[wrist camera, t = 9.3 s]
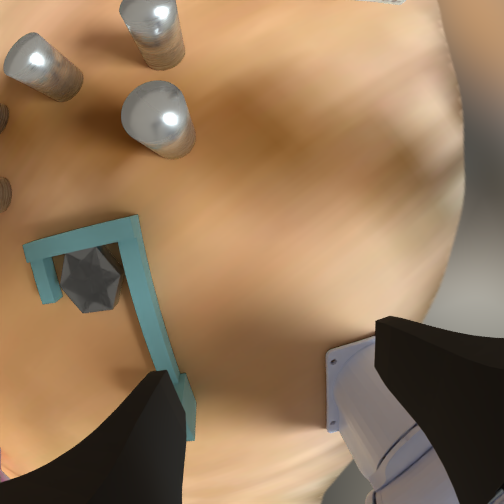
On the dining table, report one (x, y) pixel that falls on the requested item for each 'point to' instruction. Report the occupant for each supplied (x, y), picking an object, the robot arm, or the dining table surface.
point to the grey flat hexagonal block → (92, 279)
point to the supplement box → (387, 1)
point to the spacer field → (138, 101)
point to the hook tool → (138, 282)
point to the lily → (0, 475)
